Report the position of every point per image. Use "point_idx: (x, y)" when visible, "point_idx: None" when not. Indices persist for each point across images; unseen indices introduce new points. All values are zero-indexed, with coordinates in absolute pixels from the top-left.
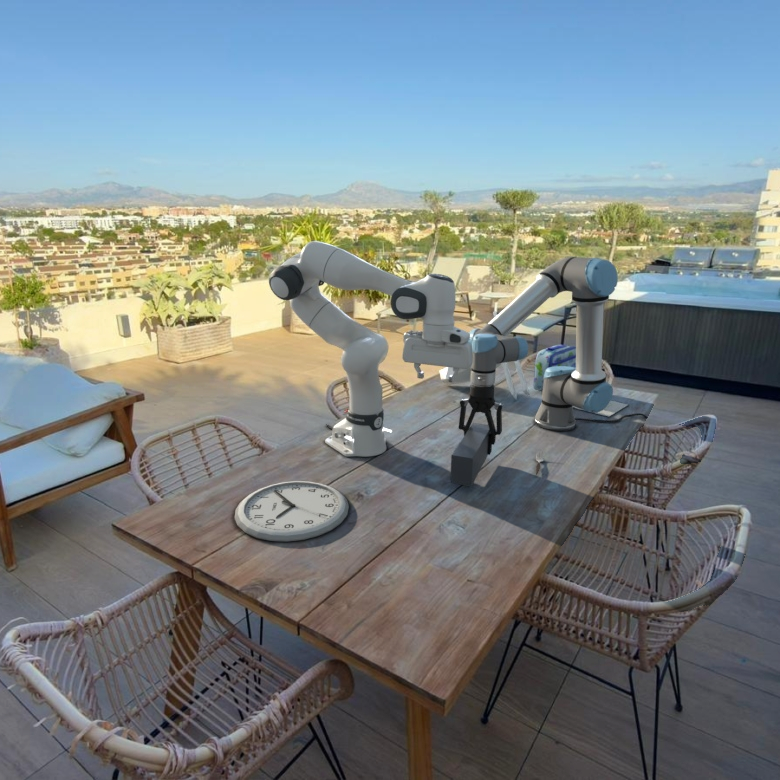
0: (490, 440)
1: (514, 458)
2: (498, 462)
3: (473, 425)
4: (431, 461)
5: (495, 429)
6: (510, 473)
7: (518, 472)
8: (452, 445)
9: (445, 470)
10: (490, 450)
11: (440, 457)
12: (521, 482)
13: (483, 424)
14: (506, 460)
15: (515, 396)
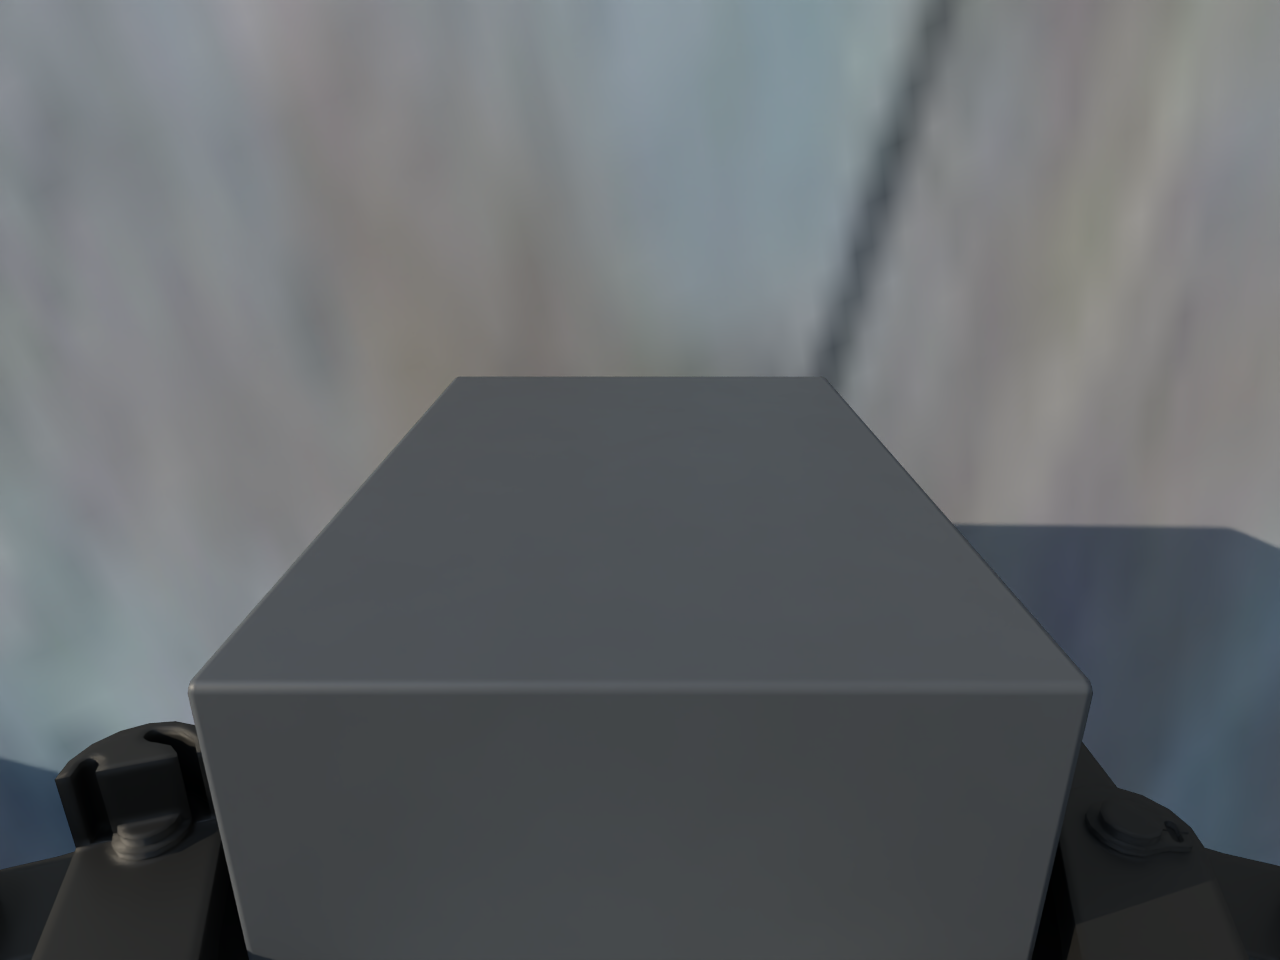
0: None
1: (1198, 151)
2: (937, 421)
3: (327, 945)
4: (56, 752)
5: (1223, 930)
6: (1111, 684)
7: (1220, 619)
8: (6, 24)
9: None
10: None
11: (93, 596)
12: (1232, 841)
13: (697, 728)
14: (1059, 294)
15: None
